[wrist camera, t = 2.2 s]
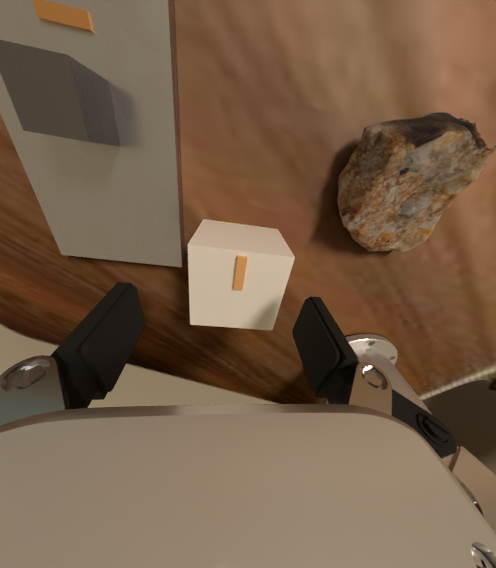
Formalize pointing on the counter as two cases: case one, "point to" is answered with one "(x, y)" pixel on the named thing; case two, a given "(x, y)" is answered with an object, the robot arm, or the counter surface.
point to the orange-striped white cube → (237, 275)
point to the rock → (407, 178)
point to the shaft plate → (148, 127)
